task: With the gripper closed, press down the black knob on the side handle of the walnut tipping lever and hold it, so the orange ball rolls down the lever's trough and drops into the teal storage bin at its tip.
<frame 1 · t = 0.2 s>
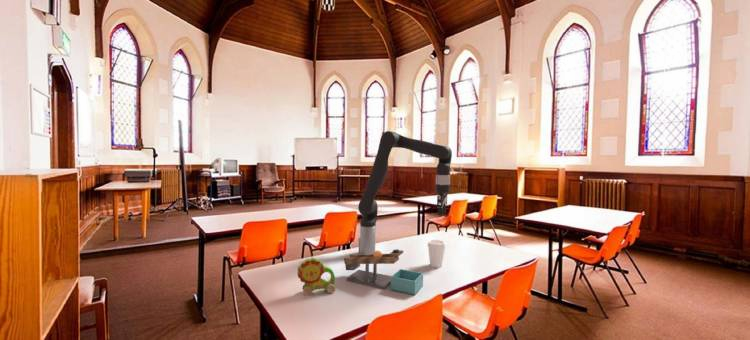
hand: (441, 213, 173), 29 cm above the table, tool pointing down, fingers open, 8 cm apart
toy lion: (316, 293, 140), on the table
ball: (377, 254, 152), point 13 cm above the table, tilted 8°, touching lever
stand: (371, 280, 154), on the table
teal storage bin: (407, 288, 146), on the table
foam cup: (436, 266, 176), on the table
lever: (376, 258, 159), point 9 cm above the table, hinge at -10.0°, touching ball
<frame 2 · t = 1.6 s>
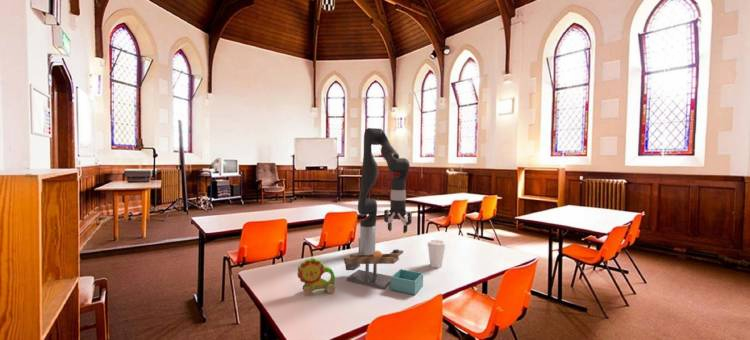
hand: (397, 231, 160), 22 cm above the table, tool pointing down, fingers open, 7 cm apart
nothing on the table moved.
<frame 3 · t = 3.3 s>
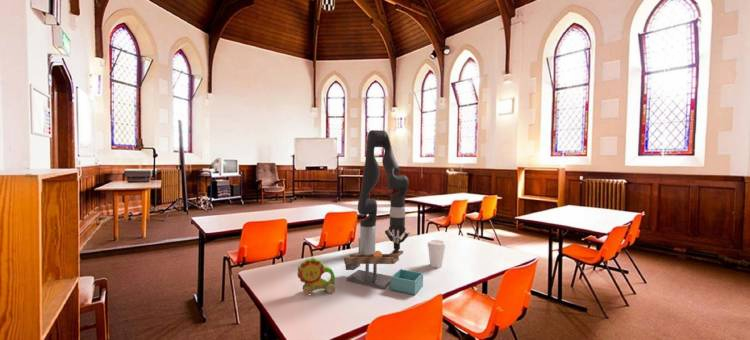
hand: (396, 250, 160), 13 cm above the table, tool pointing down, fingers closed
lever: (376, 258, 159), point 9 cm above the table, hinge at -9.2°, touching ball, gripper
everything else where it was.
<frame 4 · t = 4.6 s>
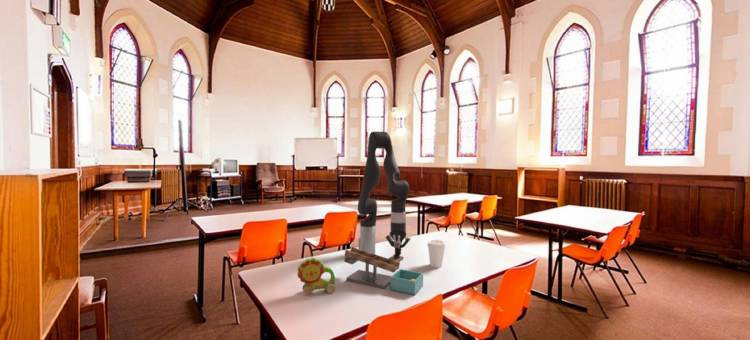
hand: (398, 255, 160), 10 cm above the table, tool pointing down, fingers closed
ball: (413, 283, 145), point 3 cm above the table, tilted 145°, touching teal storage bin
lever: (376, 258, 159), point 9 cm above the table, hinge at 8.2°, touching gripper
everything else where it was.
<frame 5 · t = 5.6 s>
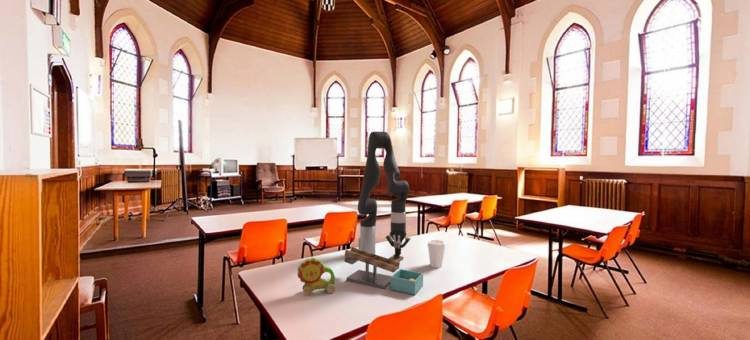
hand: (398, 255, 160), 10 cm above the table, tool pointing down, fingers closed
ball: (411, 283, 145), point 3 cm above the table, tilted 126°, touching teal storage bin
everything else where it was.
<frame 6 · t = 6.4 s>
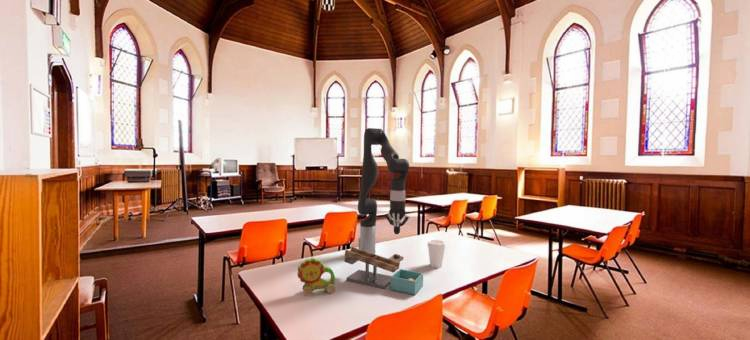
hand: (396, 233, 160), 21 cm above the table, tool pointing down, fingers closed
ball: (410, 283, 145), point 3 cm above the table, tilted 111°, touching teal storage bin
lever: (376, 258, 159), point 9 cm above the table, hinge at 8.2°
everything else where it was.
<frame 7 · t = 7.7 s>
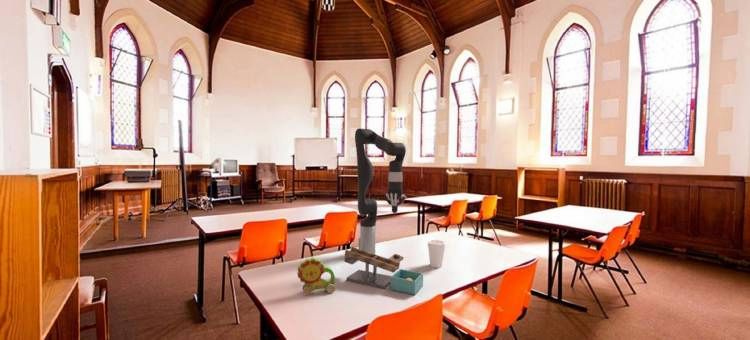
hand: (394, 212, 172), 29 cm above the table, tool pointing down, fingers closed
ball: (408, 282, 145), point 3 cm above the table, tilted 86°, touching teal storage bin
everything else where it was.
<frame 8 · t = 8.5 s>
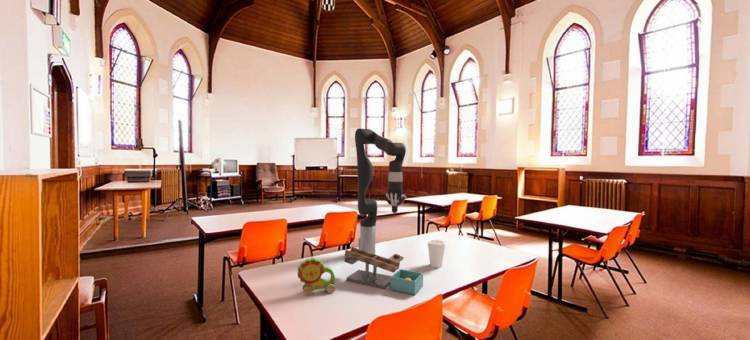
hand: (394, 212, 172), 29 cm above the table, tool pointing down, fingers closed
ball: (407, 282, 146), point 3 cm above the table, tilted 71°, touching teal storage bin
everything else where it was.
at the end: ball inside the target area on the teal storage bin (0.2 cm from its centre), point 2.6 cm above the teal storage bin's base; ball touching teal storage bin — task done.
